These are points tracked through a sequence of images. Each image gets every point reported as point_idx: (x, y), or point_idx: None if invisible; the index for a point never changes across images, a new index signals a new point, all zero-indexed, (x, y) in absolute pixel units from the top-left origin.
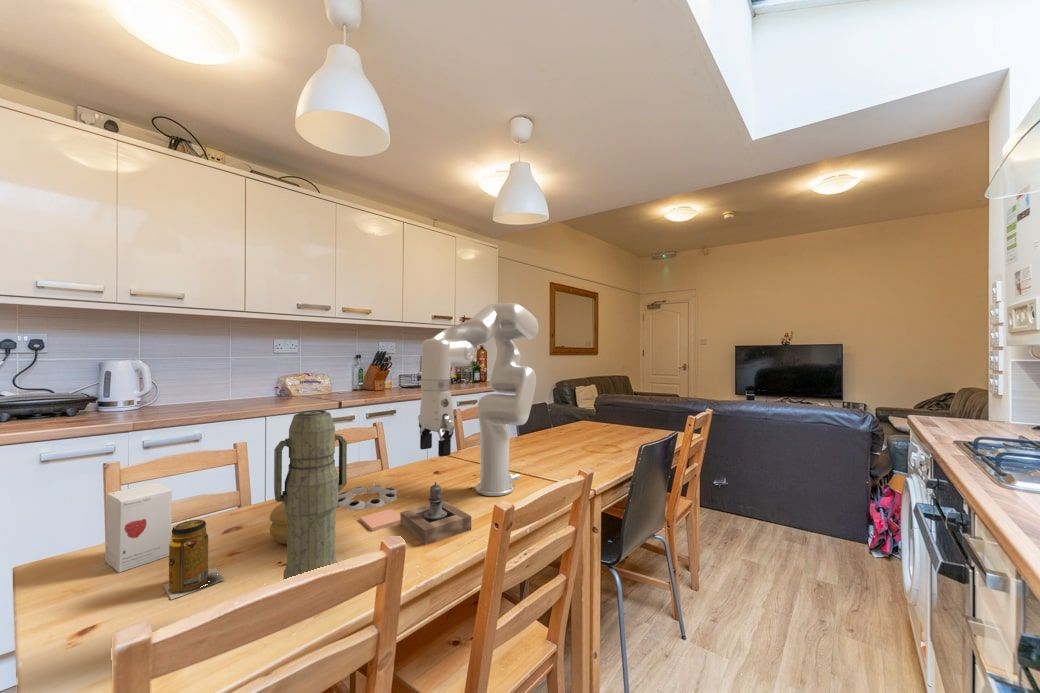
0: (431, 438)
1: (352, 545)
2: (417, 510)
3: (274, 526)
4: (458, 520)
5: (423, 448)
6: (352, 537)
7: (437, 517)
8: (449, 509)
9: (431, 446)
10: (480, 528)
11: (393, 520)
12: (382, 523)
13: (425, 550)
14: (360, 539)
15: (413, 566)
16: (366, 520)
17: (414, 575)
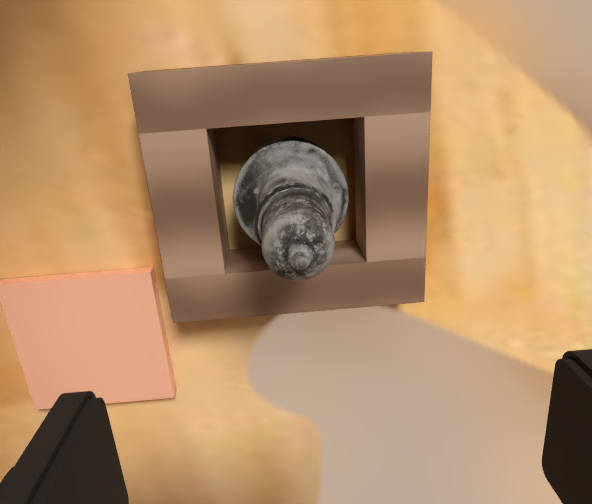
0: (45, 502)
1: (252, 456)
2: (193, 252)
3: None
4: (428, 135)
5: (123, 493)
6: (191, 446)
7: (340, 211)
8: (277, 110)
9: (98, 407)
10: (429, 2)
11: (142, 316)
12: (150, 357)
13: (443, 289)
14: (222, 430)
15: (508, 353)
16: None
17: None
